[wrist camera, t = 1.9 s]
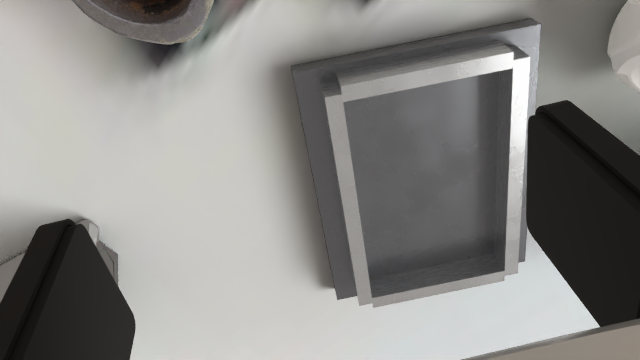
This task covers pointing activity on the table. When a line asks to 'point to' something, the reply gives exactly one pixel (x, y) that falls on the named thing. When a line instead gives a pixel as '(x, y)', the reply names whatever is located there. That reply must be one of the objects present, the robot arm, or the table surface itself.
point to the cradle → (422, 160)
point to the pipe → (150, 18)
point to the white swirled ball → (626, 45)
